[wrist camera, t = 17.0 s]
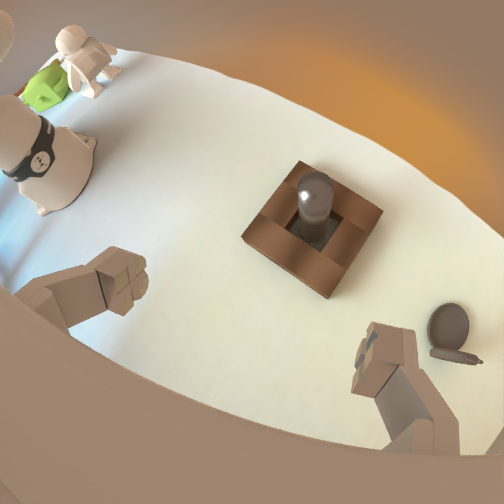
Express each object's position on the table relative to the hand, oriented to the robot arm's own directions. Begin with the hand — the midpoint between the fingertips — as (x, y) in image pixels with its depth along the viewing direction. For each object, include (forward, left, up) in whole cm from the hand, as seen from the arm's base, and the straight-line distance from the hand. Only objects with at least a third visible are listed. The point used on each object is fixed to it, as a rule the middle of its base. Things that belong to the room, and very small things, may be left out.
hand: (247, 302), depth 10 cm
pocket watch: (+19, +10, -28) cm, 35 cm away
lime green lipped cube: (-82, +8, -28) cm, 87 cm away
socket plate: (-4, +12, -27) cm, 30 cm away
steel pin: (-4, +12, -27) cm, 30 cm away
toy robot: (-64, +18, -28) cm, 72 cm away
